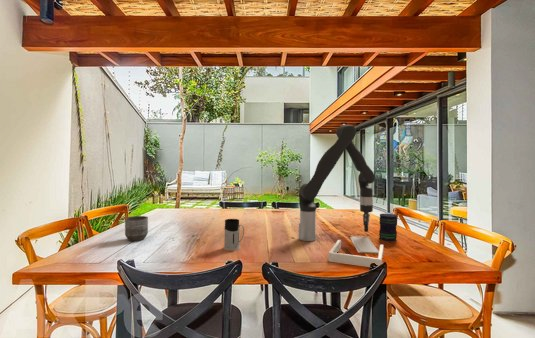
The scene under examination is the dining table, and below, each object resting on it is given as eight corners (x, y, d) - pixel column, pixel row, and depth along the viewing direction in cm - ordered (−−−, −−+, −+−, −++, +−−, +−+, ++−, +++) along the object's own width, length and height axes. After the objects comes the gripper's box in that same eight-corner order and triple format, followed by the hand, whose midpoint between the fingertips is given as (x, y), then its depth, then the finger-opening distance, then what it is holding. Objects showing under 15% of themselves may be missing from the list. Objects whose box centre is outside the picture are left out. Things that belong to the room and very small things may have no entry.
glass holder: (233, 245, 163) (233, 217, 163) (250, 250, 153) (250, 221, 153) (220, 248, 157) (220, 220, 156) (236, 254, 147) (237, 224, 146)
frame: (328, 261, 138) (328, 252, 138) (338, 247, 161) (338, 239, 161) (381, 268, 129) (381, 259, 129) (383, 252, 152) (383, 244, 152)
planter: (120, 241, 168) (120, 218, 168) (136, 236, 180) (136, 215, 179) (136, 243, 164) (136, 220, 164) (152, 238, 175) (152, 216, 175)
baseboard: (355, 253, 151) (379, 255, 150) (355, 248, 151) (379, 249, 150) (347, 238, 182) (367, 239, 180) (347, 233, 182) (367, 234, 180)
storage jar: (393, 237, 183) (394, 213, 182) (399, 242, 173) (399, 216, 172) (377, 237, 184) (377, 213, 183) (381, 241, 174) (382, 216, 173)
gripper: (361, 202, 192) (361, 228, 193) (358, 205, 180) (358, 233, 180) (373, 202, 189) (373, 229, 190) (371, 205, 177) (371, 234, 177)
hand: (366, 231), depth 185 cm, fingers closed
